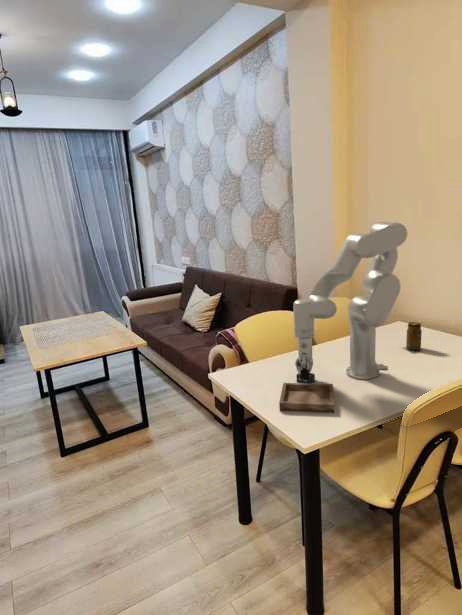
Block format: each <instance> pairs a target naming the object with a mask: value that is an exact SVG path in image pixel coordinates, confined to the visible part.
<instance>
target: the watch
mask: <svg viewBox="0 0 462 615" xmlns="http://www.w3.org/2000/svg"><path fill="white" fill-rule="evenodd" d="M306 362H307V360H306ZM294 364H295V367H296V370H297V373H296V383H313V384H314V383H315V381H316V376H315V375H316V374H315V373H312V370H313V366H314V358H313V357H312V363H309V362H308V369H309V379H308V380H304V379H301V377H300V369H301V363H300V362H299V357H297V358H296V360H295V363H294ZM306 365H307V364H306Z"/></svg>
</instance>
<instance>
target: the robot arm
mask: <svg viewBox="0 0 462 615" xmlns="http://www.w3.org/2000/svg"><path fill="white" fill-rule="evenodd" d="M407 238H408V230H407V227H406V226H405V225H403V224H402V223H400V222H394V221H393V222H392V221H379V222H376V223H374V224H372V225H371V227H370V228H369V233H362V232H361V233H360V232H359V233H358V232H355V233H351V234H349V235H348V236H346V238H345V240H344V242H343V243H342V246H341V247H340V250H339V251H338V253H337V254H336V257H335V259H334V260H333V263H331V267H329V269H328V270H327V271H326V272H325V273H324V274H323V275H322V276H321V277H320V278H319V279H318V280H317V282H316V283H315V285H314V287H313V288H312V291H311V293H310V294H309V297H308V298H299V299H296V300H295V301H294V302H293V304H292V305H293V309H292V310H293V335H294V337H295V338H296V339H297V354H298V358H299V362H300V363H301V369H300V377H301V379H304V380H308V379H309V369H308V362H309V363H312V358H313V337H315V319H319V320H321V319H322V320H325V319H326V320H327V319H328V320H329V319H330V318H333V317H334V316H335V315H336V313H337V305H336V303H335V301H333V300H332V299H330V295H331V294H332V292H333V291H334V290H335V289H336V288H337V287H338V286H340V285H342V284H344V283H345V282H347V281H350V279H352V278H353V276H354V274H355V272H356V270H357V268H358V266H359V264H360V263H361V261H362V259H370V258H372V260H371V262H370V265H369V267H368V268H367V271H366V273H365V275H364V277H363V280H362V288H363V290H364V291H365V293H368V294H370V297H369V296H367V295H361V294H360V295H355V296H354V297H353V298H352V299H350V300H349V303H348V306H347V312H348V313H347V314H348V320H349V336H350V337H349V356H350V357H349V366H348V367H346V370H345V373H346V375H347V376H348V377H350V378H354V379H356V380H372V379H375V378H377V377H379V376H380V371H387V372H388V371H389V366H388V365H384V363H378V362H376V338H377V337H376V335H377V333H376V332H377V331H376V330H377V329H376V327H380V326H382V325H383V324H384V323H385V322H386V321H387V319H388V317H389V316H390V314H391V312H392V310H393V307H394V305H395V304H396V301H397V299H398V297H399V294H400V293H401V292H400V291H401V282H400V279H399V277H398V276H397V275H395V274H393V272H394V270H395V267H396V265H397V262H398V257H399V256H398V255H399V253H398V247H400V246H401V245H403V244H404V243H405V242H406V240H407ZM306 360H307V362H306ZM306 364H307V365H306Z"/></svg>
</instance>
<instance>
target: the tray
mask: <svg viewBox="0 0 462 615" xmlns="http://www.w3.org/2000/svg"><path fill="white" fill-rule="evenodd" d="M334 396H335V395H334V384H333V383H314V382H313V383H299V382H283V384H282V387H281V393H280V398H279V402H278V404H279V412H295V413H296V412H298V413H322V414H323V413H325V414H327V413H328V414H335V399H334V398H335V397H334Z"/></svg>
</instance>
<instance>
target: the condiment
mask: <svg viewBox="0 0 462 615" xmlns="http://www.w3.org/2000/svg"><path fill="white" fill-rule="evenodd" d="M421 327H422V325H421V323H420V322H416V321H411V322H408V324H407V328H406V341H405V342H406V344H405V345H406V346H401V348H402V349H404V350H405V351H408V352H410V353H413V354H416V353H417V354H419V353H424V352H428V350H427V349H424V348H422V347H421V346H422V328H421Z"/></svg>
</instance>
